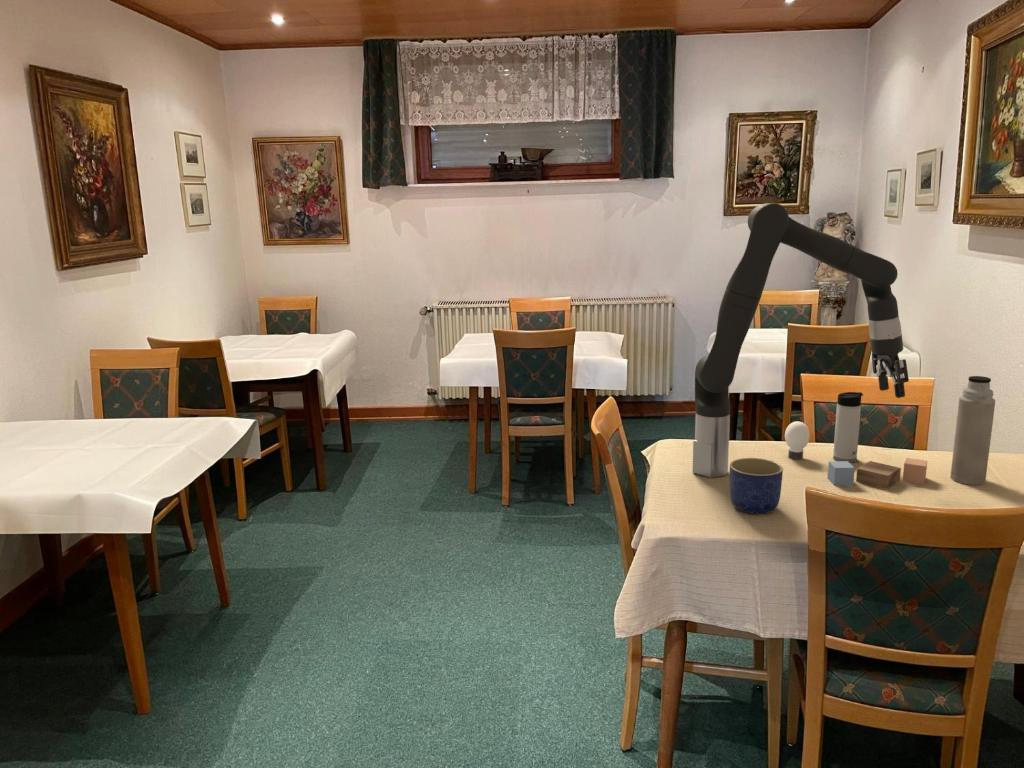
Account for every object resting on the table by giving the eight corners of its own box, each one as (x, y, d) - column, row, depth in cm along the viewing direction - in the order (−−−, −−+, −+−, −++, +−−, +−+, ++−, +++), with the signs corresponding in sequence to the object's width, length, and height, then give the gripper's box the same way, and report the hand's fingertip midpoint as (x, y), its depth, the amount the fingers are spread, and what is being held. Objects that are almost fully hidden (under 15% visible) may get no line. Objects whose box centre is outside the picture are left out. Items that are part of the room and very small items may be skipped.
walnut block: (886, 490, 192) (888, 475, 191) (856, 482, 197) (857, 468, 197) (899, 482, 197) (900, 467, 196) (869, 474, 203) (870, 461, 202)
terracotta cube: (923, 484, 194) (925, 466, 193) (902, 480, 197) (904, 463, 196) (925, 478, 198) (927, 460, 197) (904, 475, 201) (906, 457, 200)
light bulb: (783, 460, 215) (785, 424, 213) (784, 452, 221) (786, 417, 219) (807, 462, 213) (810, 425, 210) (808, 454, 219) (810, 419, 216)
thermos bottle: (948, 472, 201) (959, 373, 194) (983, 476, 198) (995, 374, 191) (952, 482, 194) (963, 379, 187) (987, 486, 191) (1000, 381, 184)
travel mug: (860, 463, 210) (865, 395, 206) (835, 462, 212) (840, 395, 207) (854, 456, 216) (860, 390, 212) (831, 455, 218) (835, 389, 213)
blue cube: (853, 485, 195) (854, 467, 194) (834, 485, 195) (835, 467, 194) (846, 478, 200) (847, 461, 199) (827, 478, 200) (828, 461, 199)
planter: (731, 495, 191) (732, 455, 188) (781, 501, 186) (784, 460, 184) (725, 514, 180) (726, 472, 177) (779, 520, 175) (781, 477, 172)
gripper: (858, 333, 200) (865, 390, 204) (884, 341, 186) (891, 402, 190) (886, 328, 200) (892, 385, 203) (914, 335, 186) (920, 396, 189)
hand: (892, 393), depth 196 cm, fingers open, 8 cm apart
